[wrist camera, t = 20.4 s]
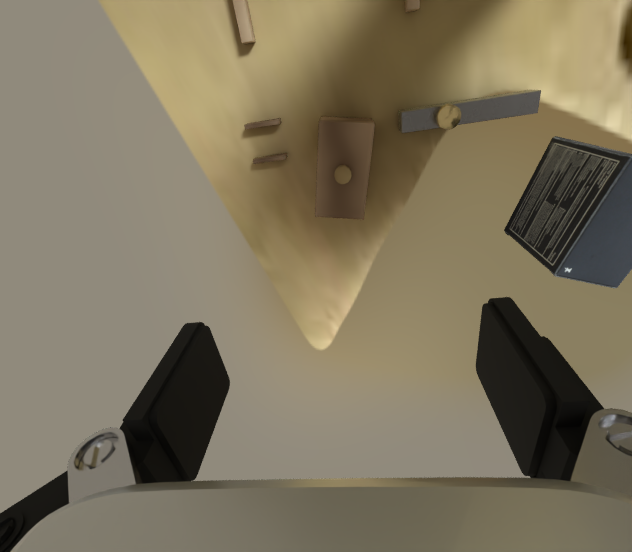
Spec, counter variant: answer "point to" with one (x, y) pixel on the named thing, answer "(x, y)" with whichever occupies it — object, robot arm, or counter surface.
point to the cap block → (343, 166)
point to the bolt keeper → (271, 157)
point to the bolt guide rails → (246, 25)
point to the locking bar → (469, 111)
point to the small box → (578, 213)
